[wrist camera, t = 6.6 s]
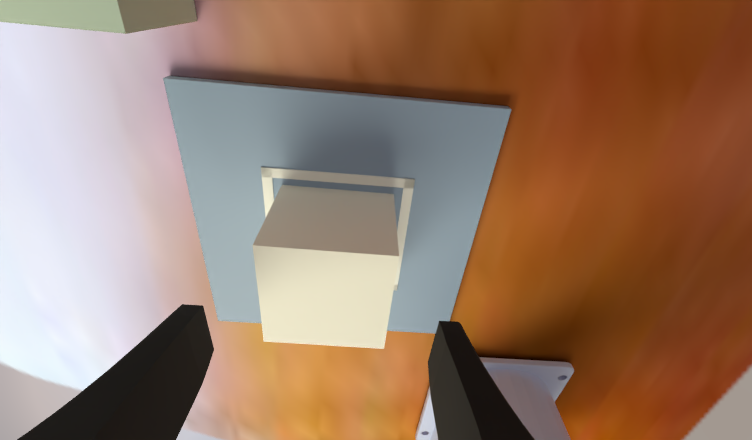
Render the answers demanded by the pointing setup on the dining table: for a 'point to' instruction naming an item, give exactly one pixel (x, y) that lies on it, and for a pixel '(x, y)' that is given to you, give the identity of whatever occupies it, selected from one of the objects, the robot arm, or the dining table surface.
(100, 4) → the sage block
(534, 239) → the dining table surface
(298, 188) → the cream block
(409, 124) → the plate
